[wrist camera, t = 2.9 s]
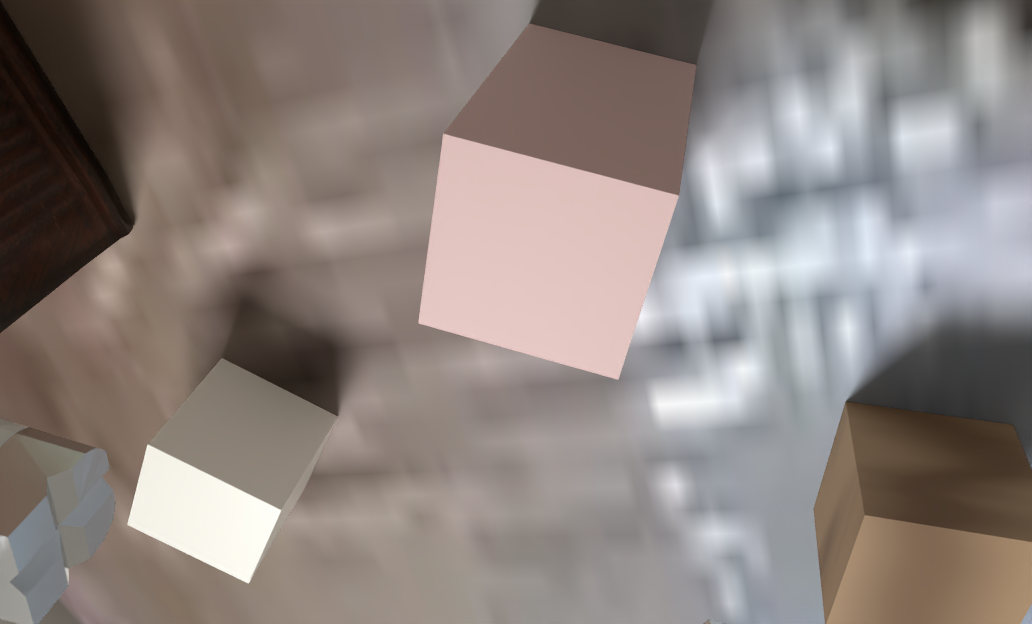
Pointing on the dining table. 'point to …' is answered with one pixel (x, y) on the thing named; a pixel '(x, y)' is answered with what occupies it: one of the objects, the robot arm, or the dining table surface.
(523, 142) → the dusty-rose block
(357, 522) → the dining table surface
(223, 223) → the dining table surface
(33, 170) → the manual coffee grinder
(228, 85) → the dining table surface
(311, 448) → the off-white block
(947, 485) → the walnut block
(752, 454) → the dining table surface
